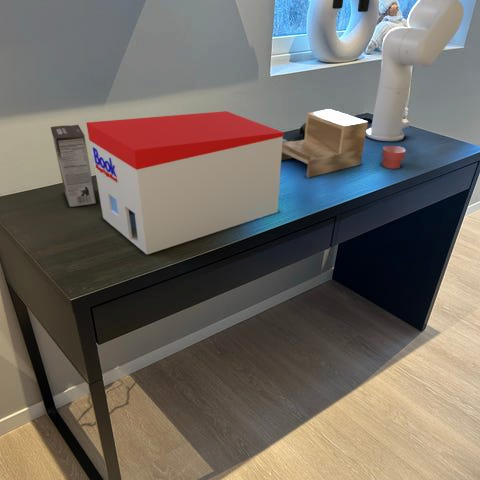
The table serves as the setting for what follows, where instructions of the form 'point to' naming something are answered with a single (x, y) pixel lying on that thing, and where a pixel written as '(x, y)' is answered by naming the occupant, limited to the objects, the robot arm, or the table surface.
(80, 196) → the coffee box
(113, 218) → the bookstore
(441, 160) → the table surface
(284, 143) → the soldier figure
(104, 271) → the table surface
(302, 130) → the fossilized seashell
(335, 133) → the wooden step block
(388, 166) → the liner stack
